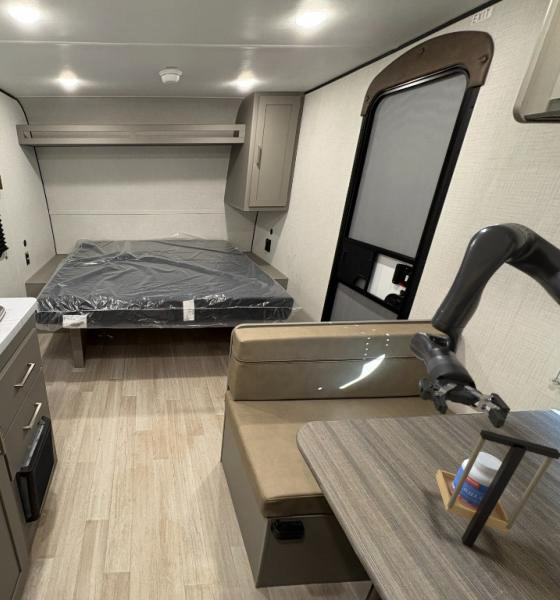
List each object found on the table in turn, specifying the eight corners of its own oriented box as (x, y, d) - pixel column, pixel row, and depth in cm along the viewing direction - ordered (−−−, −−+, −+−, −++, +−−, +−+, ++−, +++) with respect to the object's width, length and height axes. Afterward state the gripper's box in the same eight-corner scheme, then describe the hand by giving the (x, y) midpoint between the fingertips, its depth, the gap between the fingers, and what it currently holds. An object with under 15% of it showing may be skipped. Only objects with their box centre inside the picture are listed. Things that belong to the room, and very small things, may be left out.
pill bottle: (448, 498, 60) (467, 460, 56) (450, 480, 63) (467, 442, 60) (489, 518, 56) (511, 479, 52) (488, 497, 60) (509, 459, 56)
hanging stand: (478, 515, 64) (532, 417, 54) (497, 562, 56) (563, 457, 47) (424, 496, 67) (466, 401, 58) (435, 538, 60) (485, 436, 50)
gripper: (417, 355, 80) (432, 392, 66) (493, 370, 73) (527, 414, 60) (408, 380, 82) (422, 420, 69) (481, 397, 76) (511, 444, 63)
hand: (471, 417), depth 64 cm, fingers open, 8 cm apart
